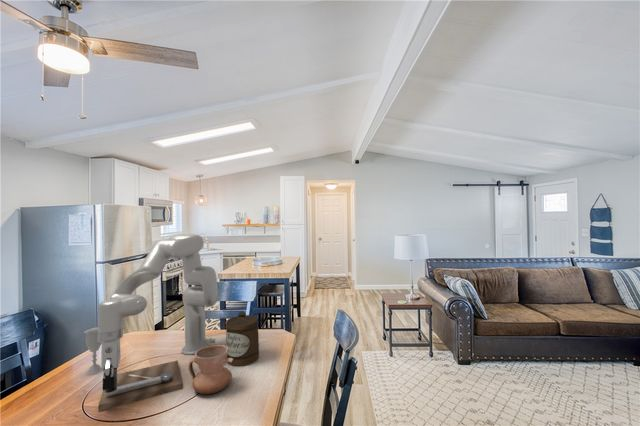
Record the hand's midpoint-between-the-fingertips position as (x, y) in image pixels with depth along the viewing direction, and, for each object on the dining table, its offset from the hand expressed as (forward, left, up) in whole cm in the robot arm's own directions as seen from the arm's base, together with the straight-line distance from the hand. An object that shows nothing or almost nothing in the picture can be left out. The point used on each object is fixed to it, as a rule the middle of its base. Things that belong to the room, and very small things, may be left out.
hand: (110, 382), depth 106 cm
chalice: (+9, -30, -7) cm, 32 cm away
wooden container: (-50, -7, -7) cm, 51 cm away
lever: (-9, 0, -4) cm, 10 cm away
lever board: (-10, -6, -7) cm, 14 cm away
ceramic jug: (-33, +10, -7) cm, 35 cm away
